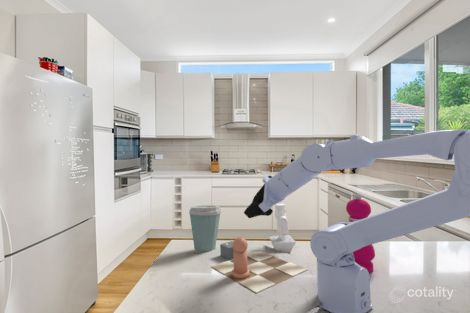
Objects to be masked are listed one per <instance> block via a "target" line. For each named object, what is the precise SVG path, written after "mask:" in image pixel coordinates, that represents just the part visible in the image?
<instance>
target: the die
mask: <svg viewBox="0 0 470 313" xmlns="http://www.w3.org/2000/svg"><path fill="white" fill-rule="evenodd" d="M233 241H234V240H231V241H228V242H224V243H219V244H220V245H219V246H220V247H219V248H220V250H219V251H220V252H219V253H220V256H221V257H223V258H225V259H226V260H227V261H231V260H234V255H233V251H234V249H233V246H232V245H233Z"/></svg>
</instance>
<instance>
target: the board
mask: <svg viewBox="0 0 470 313" xmlns="http://www.w3.org/2000/svg"><path fill="white" fill-rule="evenodd" d="M210 267H211V268H212V269H214V270H215V271H217V272H218V273H220V274H223V275H224V276H226V277H227V278H228V279H230V280H233V281H234V282H236V283H238V284H239V285H241V286H243V287H244V288H246V289H248V290H250V291H251V292H252V293H255V294H259V293H261V292H263V291H265V290H267V289H269V288H272V287H274V286H276V285H278V284H280V283H283V282H285V281H287V280H290V279H291V278H294V277H296V276H298V275H300V274H303V273H304V272H307V271H308V270H309V269H308V268H307V267H303V266H301V265H299V264H295V263H293V262H291V261H286V260H283V259H281V258H278V257H276V256H274V255H273V254H269V253H267V252H265V251H262V250H258V251H255V252H252V253H249V254H248V253H247V269H249V271H250V276H249V277H248V278H245V279H236V278H233V277H232V270H233V269H234V259H231V260H227V261H226V260H225V261H223V262H221V263H218V264H214V265H212V266H210Z"/></svg>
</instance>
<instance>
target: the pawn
mask: <svg viewBox="0 0 470 313" xmlns="http://www.w3.org/2000/svg"><path fill="white" fill-rule="evenodd" d="M232 241H233V245H232V246H233V249H234V251H233V255H234V259H233V260H234V269H233V270H232V277H233V278H236V279H245V278H248V277H249V276H250V271H249V269H247V255H248V247H249V246H248V244H249V243H248V241H247V239H246V238H243V237H241V236H239V237H236V238H235V239H234V240H232Z"/></svg>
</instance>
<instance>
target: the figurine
mask: <svg viewBox="0 0 470 313" xmlns="http://www.w3.org/2000/svg"><path fill="white" fill-rule="evenodd" d="M274 217H275V219H276V226H277V229H276V230H277V235H268V237H269V240H270V242H271V244H272V246H273V249H274V250H275V251H279V252H282V253H291V252H292V250H293V248H294V247H295V245H296V243H297V242H296V240H295V239H294V237H292V236H291V235H289V221H288V218H287V208H286V203H277V204H275V205H274Z"/></svg>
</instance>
